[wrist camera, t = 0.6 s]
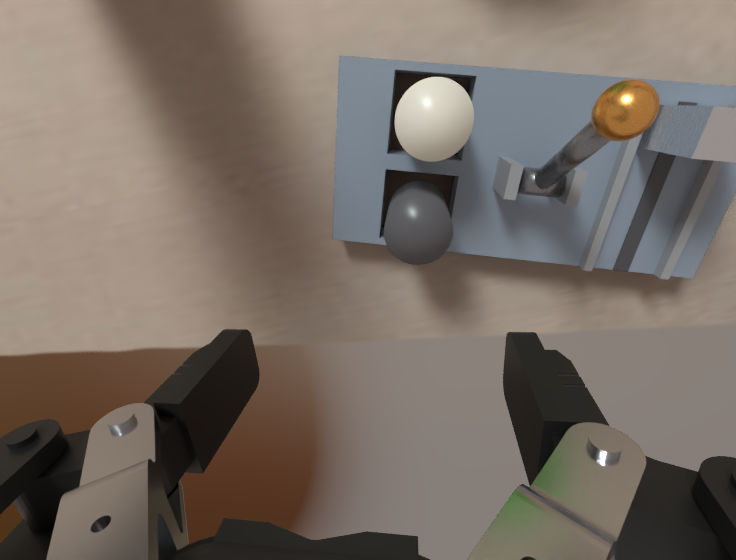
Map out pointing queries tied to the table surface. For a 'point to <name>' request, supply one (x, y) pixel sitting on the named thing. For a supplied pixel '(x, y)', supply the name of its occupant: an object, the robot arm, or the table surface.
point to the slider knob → (693, 132)
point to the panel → (533, 149)
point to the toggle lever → (596, 134)
